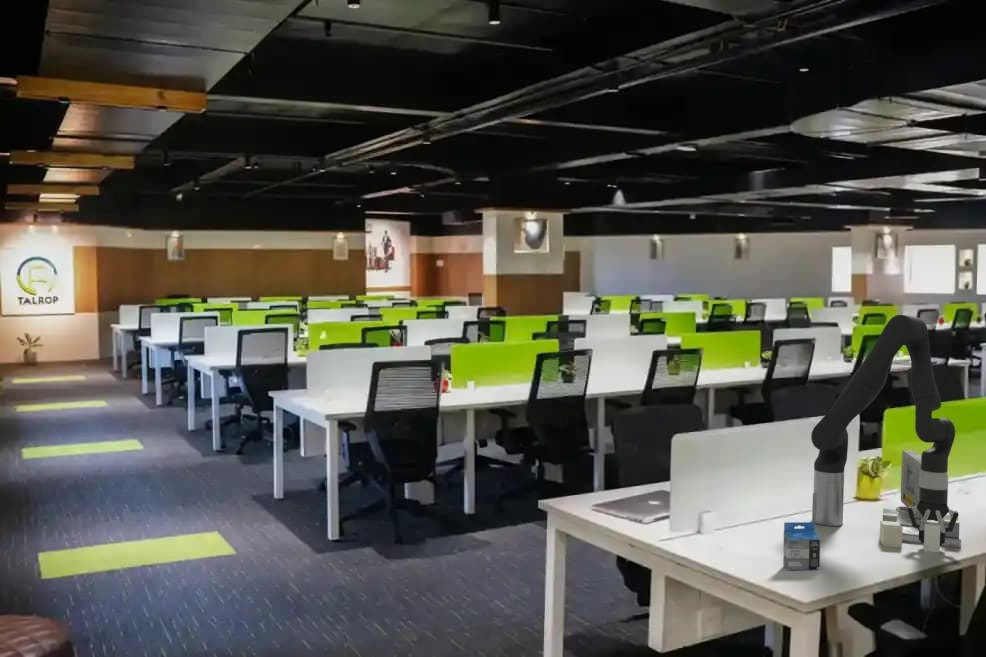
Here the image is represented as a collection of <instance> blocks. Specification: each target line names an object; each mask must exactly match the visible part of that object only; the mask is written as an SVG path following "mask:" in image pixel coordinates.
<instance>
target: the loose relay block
mask: <svg viewBox="0 0 986 657" xmlns="http://www.w3.org/2000/svg"><path fill="white" fill-rule="evenodd" d="M879 523H880V525H879V541H880V543H881V544H882V546H883V547H886V546H890V548H899V547H902V548H903V541H902V526H901V525H900V524H899V523H900V522H899V521H897V522H892V521H883V520H880V522H879Z"/></svg>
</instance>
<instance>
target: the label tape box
mask: <svg viewBox="0 0 986 657" xmlns="http://www.w3.org/2000/svg"><path fill="white" fill-rule="evenodd" d="M783 524H784V525H783V526H784V528H783V551H782V552H783V557H782V558H783V559H782V560H783V562H782V563H783V565H782V566H783V567H784V568H785V569H786V570H787V571H801V570H802V571H804V570H806V571H807V570H808V571H809V570H810V571H814V570H817V571H818V570H819V571H820V566H821V565H820V564H821V562H820V561H821V558H820V556H821V555H820V554H821V553H820V552H821V539H820V538H819V536H818V534H817V532H816V531H815V530H816V523H815V522H812V521H810V522H805V521H803V522H798V521H797V522H791V521H789V522H784V523H783ZM799 526H800V527H804V528H797V527H799Z"/></svg>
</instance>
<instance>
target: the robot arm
mask: <svg viewBox="0 0 986 657" xmlns="http://www.w3.org/2000/svg"><path fill="white" fill-rule="evenodd" d="M929 337H930V336H929V331H928V326H927V324H926V322H925V321H924V320H923V319H922V318H920V317H918V316H914V315H910V314H909V315H908V314H905V313H899V314H895V315H894V316H892V317H891V318H890V319H889V320H887V323H886V324H885V326H884V327H883V329H882V331H881V333H880V335H879V337H878V339H877V340H876V342H875V344H874V346H873V347H872V349H871V350H870V351H869V352H868V354H867V356H866V357H865V358H864V360H863V361H862V363H861V365H860V366H859V367H858V368H857V369H856V370H855V372H854V374H853V375H852V377H850V379H849V381H848V383H847V384H846V385H845V387H844V388H843V389H842V392H841V393H840V394H839V396H838V397H837V398H836V400H835V402H834V404H833V405H832V407H831V408H830V409H829V411H828V412H826V414H825V415H823V417H822V418H821V419H820V420H819V422H818V423H817V424H816V425H815V426H814V427H813V428H812V431H811V435H810V437H811V438H810V439H811V443H812V444H813V447H815V448H816V449H817V450H819V451H818V455H817V457H816V459H815V460H814V464H813V468H814V470H813V493H812V505H811V508H812V511H811V522H815V524H816V525H821V526H828V527H838V526H843V524H844V499H845V498H844V496H845V495H844V494H845V493H844V492H845V467H846V464H847V461H848V450H849V433H848V430H847V428H848V427H849V425H850V424H851V422H852V421H853V420H854V419H855V418H857V417H858V415H859V414H861V413H862V412H863V411H864V410H866V409H867V407H868V406H869V405H871V403H873V401H874V400H875V399H876V398H877V396H879V394H880V392H881V391H882V390H883V388H884V386H885V385H886V383H887V379H888V376H889V370H890V366H891V363H892V360H893V359H894V357H895V356H896V355H897V353H898V352H899V351H900V349H902V347H903V346H905V348H906V350H907V352H908V354H909V355H908V356H909V358H910V359H909V360H910V364H911V367H910V376H909V378H910V379H909V385H910V392H911V395H912V399H913V402H914V405H915V410H914V411H915V412H914V414H915V418H914V422H915V423H914V424H915V425H914V428H915V433H916V435H917V437H918V439H919V440H920V441H922V442H923V443H928V444H929V443H931V444H932V443H933V445H932V446H931V447H930V448H928V449H925V450H923V451H922V452H921V473H920V481H919V503H918V504H917V506H913V507H911V506H908V509H907V512H908V513H909V516H908V517H909V518H910V519H911V521H910V522H911V524H912V526H913V527H914V528H917V529H918V530H919V541H921V543H920V544H923V543H924V527H925V523H926V522H927V520H934V521H938V523H939V525H940V545H942V543H943V544H944V543H945V533H946V532H951V531H952V530H953V528H954V525H955V523H956V520H957V518H958V519H959V512H958V511H957V510H953V509H950V508H949V506H948V495H949V494H948V493H949V491H948V489H949V476H948V469H949V468H948V465H949V462H948V461H949V460H948V459H949V456H950V454H951V450H952V446H954V442H955V438H956V428H955V425H954V423H953V421H951V420H950V419H949V418H946V417H938V418H937V417H935V418H933V412H936V411H938V410H939V409H941V407H942V402H941V398H940V393H939V389H938V387H937V386H938V385H937V383H936V380H935V375H934V370H933V365H932V358H931V349H930V339H929ZM916 510H918V511H919V512H920V513H921V515H922V518H920V520H921V522H916V519H917V518H916V516H914V514H916ZM945 515H949V516H950V518H951V520H950V522H949V524H948V526H946V527H944V523H943V518H944V516H945Z"/></svg>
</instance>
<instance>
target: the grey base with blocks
mask: <svg viewBox="0 0 986 657" xmlns="http://www.w3.org/2000/svg"><path fill="white" fill-rule="evenodd" d="M949 515H950V514H946V515H945V516H944V518H943V523H944V527H946V526H948V524H949V522H950V520H951V518H950V516H949ZM882 521H892V522H898V511H897V510H896V509H892V508H891V509H890V508H882ZM899 524H900V525H901V526H902V542H906V541H907V543H914V542H916V543H917V544H922V543H921V541H919V530H918V529H917V528H914V527H913V526H912V523H904V522H899ZM942 545H944V546H943V547H949V546H951V547H952V548H959V549H960V548H962V538H961V536H960V520H959V517H958V518H957V520H956V523H955V525H954V528H953V530H952V531H951V532H946V533H945V543H944V544H943V543H942ZM951 547H950V548H951Z"/></svg>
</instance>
